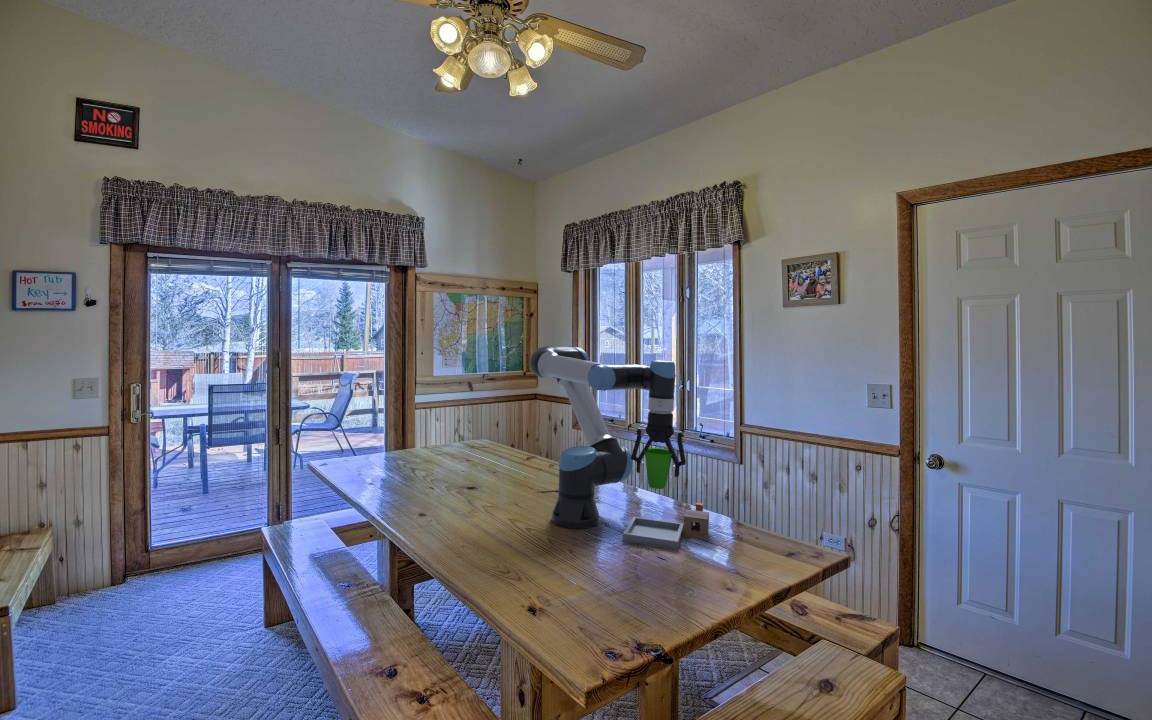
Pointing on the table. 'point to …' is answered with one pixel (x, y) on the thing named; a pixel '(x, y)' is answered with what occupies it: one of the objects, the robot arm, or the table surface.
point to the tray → (654, 532)
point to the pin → (699, 508)
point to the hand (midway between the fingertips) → (657, 485)
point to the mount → (696, 529)
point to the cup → (657, 467)
